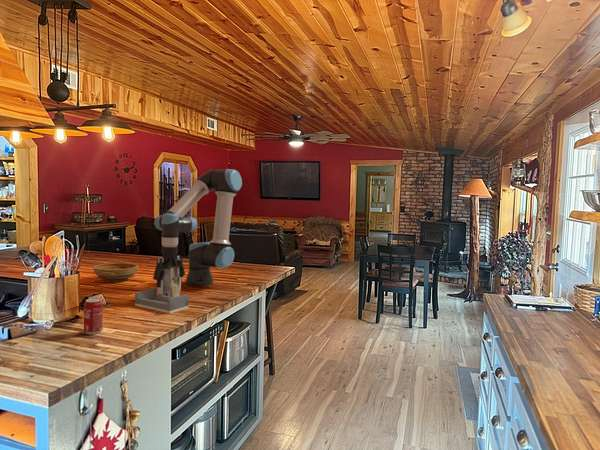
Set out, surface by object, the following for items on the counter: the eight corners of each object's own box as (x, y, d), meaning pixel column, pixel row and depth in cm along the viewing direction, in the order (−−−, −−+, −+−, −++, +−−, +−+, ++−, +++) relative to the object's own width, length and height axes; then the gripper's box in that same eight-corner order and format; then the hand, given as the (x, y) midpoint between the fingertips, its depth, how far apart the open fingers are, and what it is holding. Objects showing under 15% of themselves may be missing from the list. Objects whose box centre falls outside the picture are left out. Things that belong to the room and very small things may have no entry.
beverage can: (88, 329, 164) (87, 297, 163) (105, 329, 164) (105, 297, 163) (81, 335, 158) (80, 302, 157) (99, 335, 158) (98, 302, 157)
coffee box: (168, 296, 216) (168, 264, 215) (180, 297, 215) (180, 265, 213) (158, 301, 207) (158, 267, 206) (170, 302, 206) (170, 268, 204)
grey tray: (154, 300, 208) (154, 288, 207) (188, 307, 197) (188, 294, 196) (135, 305, 198) (135, 292, 198) (169, 313, 187) (169, 299, 187)
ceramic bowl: (106, 274, 267) (106, 261, 266) (146, 275, 267) (146, 262, 267) (82, 284, 237) (82, 270, 237) (127, 285, 238) (127, 271, 237)
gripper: (182, 243, 221) (181, 287, 222) (144, 247, 201) (144, 295, 202) (193, 244, 217) (192, 289, 218) (156, 248, 197) (155, 297, 199)
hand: (169, 292), depth 210 cm, fingers closed on coffee box, 10 cm apart
